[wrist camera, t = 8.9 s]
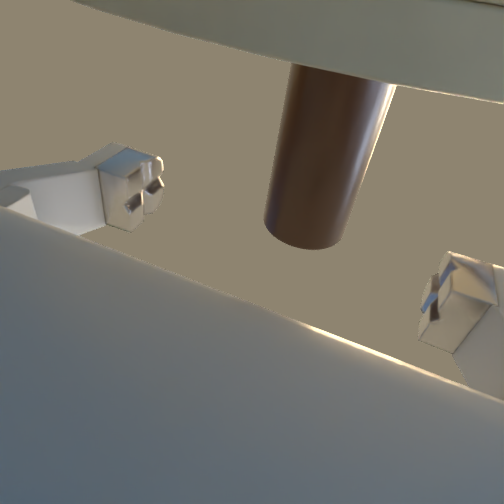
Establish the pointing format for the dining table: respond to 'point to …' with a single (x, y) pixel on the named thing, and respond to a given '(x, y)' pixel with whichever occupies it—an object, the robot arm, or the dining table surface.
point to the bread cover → (339, 82)
